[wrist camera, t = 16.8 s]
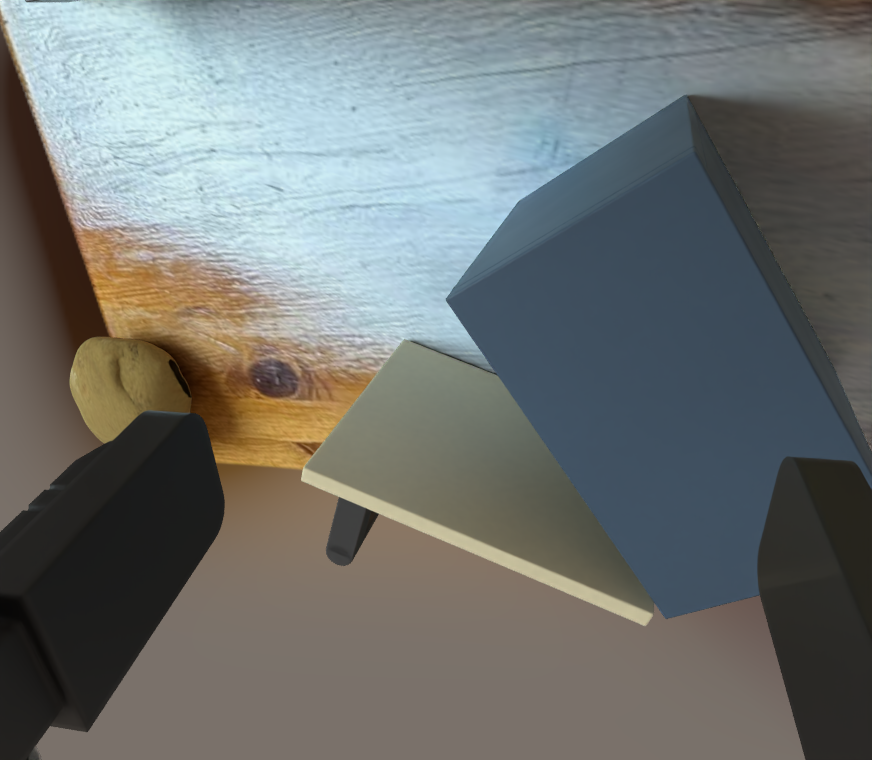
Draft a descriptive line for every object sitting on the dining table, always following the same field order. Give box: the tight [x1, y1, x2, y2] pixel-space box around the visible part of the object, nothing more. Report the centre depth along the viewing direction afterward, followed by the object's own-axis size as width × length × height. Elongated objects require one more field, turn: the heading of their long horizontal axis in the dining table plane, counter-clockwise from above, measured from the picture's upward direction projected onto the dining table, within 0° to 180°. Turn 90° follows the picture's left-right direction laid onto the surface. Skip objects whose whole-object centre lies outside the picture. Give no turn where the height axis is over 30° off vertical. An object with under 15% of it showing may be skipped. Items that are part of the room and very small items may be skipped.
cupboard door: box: [301, 339, 654, 626], centre depth 36 cm, size 6×16×13 cm, turn 75°
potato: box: [70, 337, 192, 443], centre depth 46 cm, size 7×8×8 cm
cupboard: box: [446, 95, 872, 619], centre depth 29 cm, size 9×16×14 cm, turn 36°
